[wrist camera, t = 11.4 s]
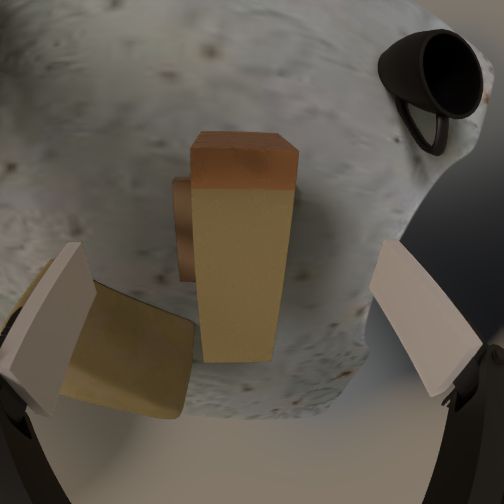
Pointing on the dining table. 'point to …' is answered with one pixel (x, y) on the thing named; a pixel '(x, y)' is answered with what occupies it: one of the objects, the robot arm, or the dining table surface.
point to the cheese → (128, 355)
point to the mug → (432, 80)
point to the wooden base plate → (184, 228)
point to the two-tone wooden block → (241, 239)
